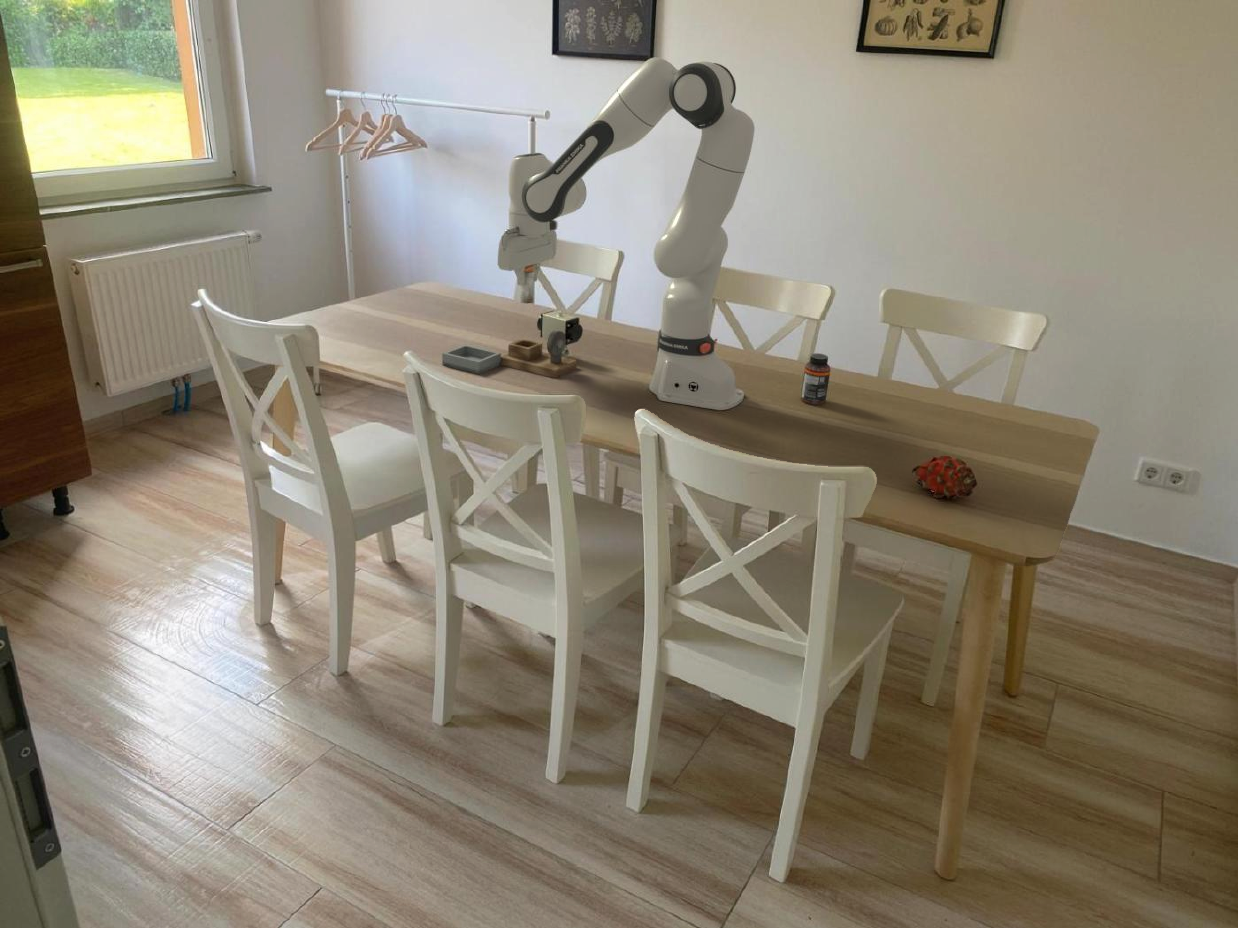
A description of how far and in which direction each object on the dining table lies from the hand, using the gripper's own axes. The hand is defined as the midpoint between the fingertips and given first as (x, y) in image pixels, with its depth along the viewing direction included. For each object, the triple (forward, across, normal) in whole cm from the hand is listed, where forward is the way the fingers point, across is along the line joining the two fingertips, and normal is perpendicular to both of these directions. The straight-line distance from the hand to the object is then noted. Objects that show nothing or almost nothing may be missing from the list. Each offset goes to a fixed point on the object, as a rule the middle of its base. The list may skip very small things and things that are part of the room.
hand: (527, 283), depth 219 cm
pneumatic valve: (+21, +10, -4) cm, 23 cm away
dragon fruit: (+22, -16, -104) cm, 108 cm away
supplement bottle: (+22, +19, -68) cm, 74 cm away
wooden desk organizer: (+20, 0, -4) cm, 21 cm away
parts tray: (+20, -10, +10) cm, 24 cm away
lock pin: (+5, 0, 0) cm, 5 cm away
